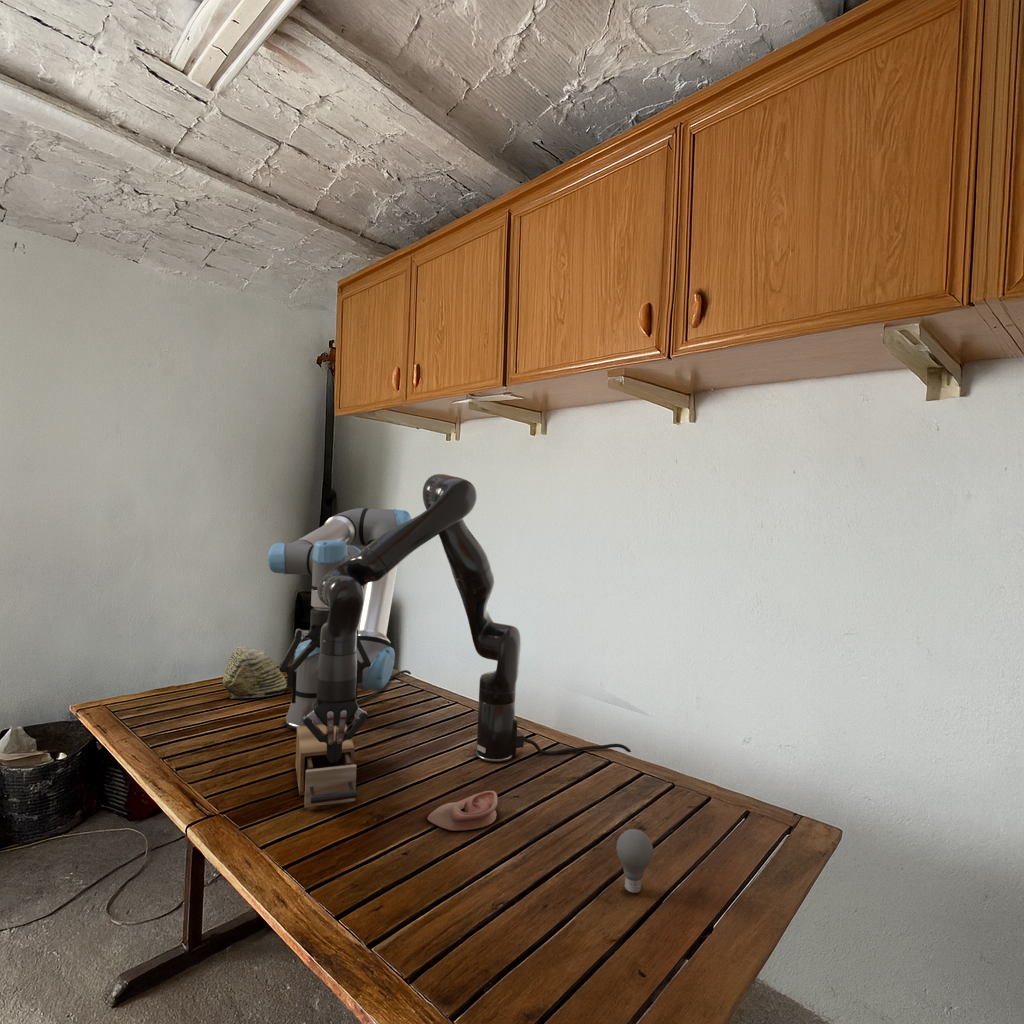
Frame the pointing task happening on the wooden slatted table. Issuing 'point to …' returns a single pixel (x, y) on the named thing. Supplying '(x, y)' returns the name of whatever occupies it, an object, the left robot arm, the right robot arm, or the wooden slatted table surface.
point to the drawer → (329, 780)
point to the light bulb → (634, 857)
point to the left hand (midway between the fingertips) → (324, 699)
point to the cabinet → (314, 750)
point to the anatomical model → (467, 812)
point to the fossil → (252, 674)
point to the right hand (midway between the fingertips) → (333, 760)
